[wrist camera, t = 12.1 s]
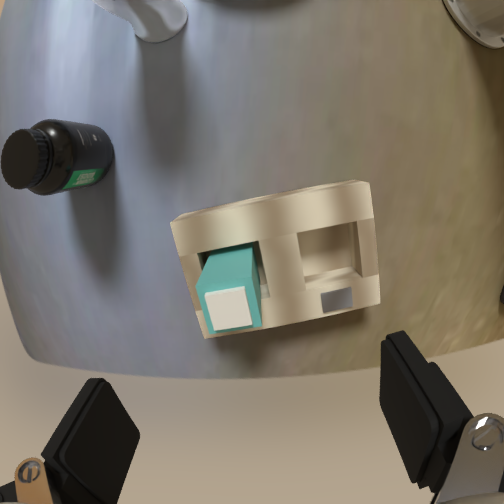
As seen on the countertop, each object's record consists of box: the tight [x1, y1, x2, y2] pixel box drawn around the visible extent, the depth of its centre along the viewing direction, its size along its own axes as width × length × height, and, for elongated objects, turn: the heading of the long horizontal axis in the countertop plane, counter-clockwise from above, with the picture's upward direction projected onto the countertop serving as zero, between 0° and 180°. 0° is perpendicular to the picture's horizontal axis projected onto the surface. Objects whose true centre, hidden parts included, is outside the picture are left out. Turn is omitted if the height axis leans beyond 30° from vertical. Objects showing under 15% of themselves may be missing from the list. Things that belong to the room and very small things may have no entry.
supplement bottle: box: [1, 119, 113, 196], centre depth 23 cm, size 7×7×12 cm
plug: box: [195, 242, 262, 334], centre depth 26 cm, size 4×4×11 cm
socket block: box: [170, 180, 380, 339], centre depth 30 cm, size 18×12×5 cm, turn 102°
